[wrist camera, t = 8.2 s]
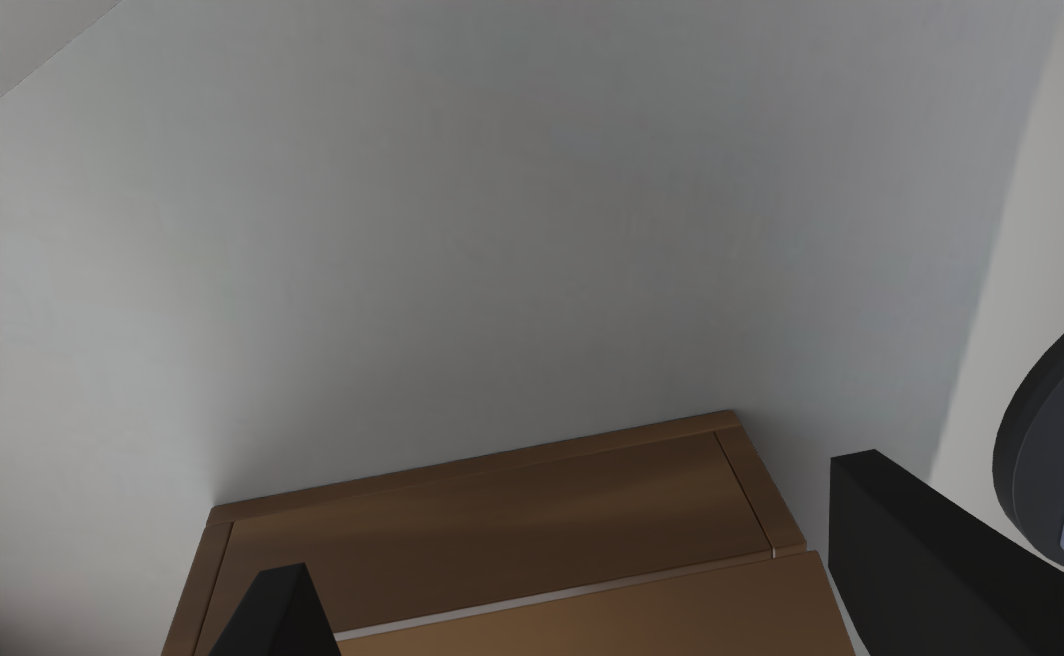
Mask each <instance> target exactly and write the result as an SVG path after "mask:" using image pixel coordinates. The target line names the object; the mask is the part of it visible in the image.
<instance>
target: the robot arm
mask: <svg viewBox="0 0 1064 656" xmlns="http://www.w3.org/2000/svg"><path fill="white" fill-rule="evenodd" d="M1060 546H1061V547H1062V548H1063V549H1064V526H1063V531H1062V536H1061V541H1060ZM828 568H829V570H830V573H831V575H832V577H833V580H834V582H835V584H836V586H837V589H838V591H839V593H840V596H841V598H842V600H843V602H844V605H845V607H846V609H847V611H848V613H849V615H850V618H851V620H852V622H853V624H854V626H855V628H856V631H857V633H858V635H859V637H860V638H861V640H862V642H863V644H864V645H865V647H866V649H867V650H868V652H869V654H870V656H1064V572H1062V571H1060V570H1059V569H1057V568H1055V567H1054V566H1052V565H1050V564H1049V563H1047V562H1045V561H1044V560H1042V559H1040V558H1039V557H1037V556H1036V555H1034V554H1032V553H1030V552H1029V551H1027V550H1026V549H1024V548H1022V547H1021V546H1019V545H1018V544H1016V543H1014V542H1013V541H1011V540H1010V539H1008V538H1007V537H1005V536H1003V535H1002V534H1000V533H999V532H997V531H996V530H994V529H992V528H991V527H989V526H988V525H986V524H985V523H983V522H982V521H980V520H979V519H977V518H976V517H974V516H973V515H971V514H970V513H968V512H967V511H965V510H964V509H962V508H961V507H959V506H958V505H956V504H955V503H953V502H952V501H950V500H949V499H947V498H946V497H944V496H943V495H942V494H940V493H939V492H937V491H936V490H934V489H933V488H931V487H930V486H928V485H927V484H925V483H924V482H922V481H921V480H920V479H918V478H917V477H915V476H914V475H912V474H911V473H909V472H908V471H907V470H905V469H904V468H902V467H901V466H899V465H898V464H896V463H895V462H893V461H892V460H890V459H889V458H887V457H886V456H884V455H883V454H881V453H880V452H878V451H877V450H875V449H872V450H867V451H862V452H857V453H852V454H847V455H842V456H837V457H832V458H831V467H830V509H829V551H828ZM207 656H342V655H341V652H340V650H339V647H338V645H337V642H336V640H335V637H334V635H333V632H332V630H331V627H330V625H329V622H328V619H327V617H326V614H325V612H324V609H323V607H322V604H321V602H320V599H319V597H318V594H317V592H316V589H315V587H314V584H313V582H312V579H311V577H310V574H309V572H308V569H307V566H306V564H305V562H302V563H297V564H292V565H287V566H282V567H277V568H272V569H267V570H262V571H259V573H258V574H257V575H256V577H255V578H254V580H253V581H252V583H251V585H250V586H249V588H248V589H247V591H246V593H245V594H244V596H243V598H242V599H241V601H240V603H239V604H238V606H237V608H236V609H235V611H234V613H233V614H232V616H231V618H230V619H229V621H228V623H227V624H226V626H225V627H224V629H223V631H222V632H221V634H220V636H219V637H218V639H217V641H216V642H215V644H214V645H213V647H212V649H211V650H210V652H209V654H208V655H207Z"/></svg>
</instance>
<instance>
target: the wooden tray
mask: <svg viewBox="0 0 1064 656" xmlns="http://www.w3.org/2000/svg"><path fill="white" fill-rule="evenodd" d="M806 547H807V541H806V539H805V538H804V536H803V534H802V532H801V530H800V529H799V527H798V525H797V523H796V521H795V520H794V518H793V516H792V514H791V512H790V511H789V509H788V507H787V505H786V503H785V502H784V500H783V498H782V496H781V494H780V493H779V491H778V489H777V487H776V486H775V484H774V482H773V480H772V478H771V477H770V475H769V473H768V471H767V469H766V468H765V466H764V464H763V462H762V460H761V459H760V457H759V455H758V453H757V451H756V450H755V448H754V446H753V444H752V442H751V441H750V439H749V437H748V435H747V433H746V432H745V430H744V428H743V427H742V425H741V423H740V421H739V420H738V418H737V416H736V414H735V412H734V411H733V410H727V411H722V412H716V413H711V414H706V415H700V416H695V417H690V418H684V419H679V420H674V421H668V422H663V423H658V424H652V425H647V426H642V427H636V428H631V429H626V430H620V431H615V432H610V433H604V434H599V435H594V436H588V437H583V438H578V439H572V440H567V441H562V442H556V443H551V444H546V445H540V446H535V447H530V448H524V449H519V450H514V451H508V452H503V453H497V454H492V455H487V456H481V457H476V458H471V459H465V460H460V461H455V462H449V463H444V464H439V465H433V466H428V467H423V468H417V469H412V470H407V471H401V472H396V473H391V474H385V475H380V476H375V477H369V478H364V479H359V480H353V481H348V482H343V483H337V484H332V485H327V486H321V487H316V488H311V489H305V490H300V491H295V492H289V493H284V494H279V495H273V496H268V497H263V498H257V499H252V500H247V501H241V502H236V503H231V504H225V505H220V506H215V507H212V508H211V511H210V514H209V517H208V520H207V523H206V528H205V529H204V531H203V534H202V537H201V540H200V543H199V546H198V549H197V552H196V555H195V557H194V560H193V563H192V566H191V569H190V572H189V575H188V578H187V581H186V583H185V586H184V589H183V592H182V595H181V598H180V601H179V604H178V607H177V610H176V612H175V615H174V618H173V621H172V624H171V627H170V630H169V633H168V636H167V639H166V641H165V644H164V647H163V650H162V653H161V656H207V655H208V654H209V652H210V650H211V649H212V647H213V645H214V644H215V642H216V641H217V639H218V637H219V636H220V634H221V632H222V631H223V629H224V627H225V626H226V624H227V623H228V621H229V619H230V618H231V616H232V614H233V613H234V611H235V609H236V608H237V606H238V604H239V603H240V601H241V599H242V598H243V596H244V594H245V593H246V591H247V589H248V588H249V586H250V585H251V583H252V581H253V580H254V578H255V577H256V575H257V574H258V573H259V571H262V570H267V569H272V568H277V567H282V566H287V565H292V564H297V563H302V562H305V564H306V566H307V569H308V572H309V574H310V577H311V579H312V582H313V584H314V587H315V589H316V592H317V594H318V597H319V599H320V602H321V604H322V607H323V609H324V612H325V614H326V617H327V619H328V622H329V625H330V627H331V630H332V632H333V635H334V637H335V640H336V641H341V640H346V639H351V638H357V637H362V636H367V635H372V634H378V633H383V632H388V631H393V630H399V629H404V628H409V627H414V626H420V625H425V624H430V623H435V622H441V621H446V620H451V619H456V618H462V617H467V616H472V615H477V614H483V613H488V612H493V611H498V610H504V609H509V608H514V607H519V606H524V605H530V604H535V603H540V602H545V601H551V600H556V599H561V598H566V597H572V596H577V595H582V594H587V593H593V592H598V591H603V590H608V589H614V588H619V587H624V586H629V585H635V584H640V583H645V582H650V581H656V580H661V579H666V578H671V577H677V576H682V575H687V574H692V573H698V572H703V571H708V570H713V569H719V568H724V567H729V566H734V565H739V564H745V563H750V562H755V561H760V560H766V559H771V558H776V557H781V556H787V555H792V554H797V553H802V552H806Z"/></svg>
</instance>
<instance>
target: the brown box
mask: <svg viewBox="0 0 1064 656" xmlns="http://www.w3.org/2000/svg"><path fill="white" fill-rule="evenodd" d="M336 642H337V645H338V647H339V650H340V652H341V655H342V656H856V654H855V652H854V649H853V646H852V643H851V641H850V638H849V635H848V632H847V630H846V627H845V624H844V621H843V619H842V616H841V613H840V610H839V608H838V605H837V602H836V599H835V597H834V594H833V591H832V588H831V586H830V583H829V580H828V577H827V575H826V572H825V569H824V566H823V564H822V561H821V558H820V555H819V553H818V552H817V551H816V550H813V551H808V552H802V553H797V554H792V555H787V556H781V557H776V558H771V559H766V560H760V561H755V562H750V563H745V564H739V565H734V566H729V567H724V568H719V569H713V570H708V571H703V572H698V573H692V574H687V575H682V576H677V577H671V578H666V579H661V580H656V581H650V582H645V583H640V584H635V585H629V586H624V587H619V588H614V589H608V590H603V591H598V592H593V593H587V594H582V595H577V596H572V597H566V598H561V599H556V600H551V601H545V602H540V603H535V604H530V605H524V606H519V607H514V608H509V609H504V610H498V611H493V612H488V613H483V614H477V615H472V616H467V617H462V618H456V619H451V620H446V621H441V622H435V623H430V624H425V625H420V626H414V627H409V628H404V629H399V630H393V631H388V632H383V633H378V634H372V635H367V636H362V637H357V638H351V639H346V640H341V641H336Z"/></svg>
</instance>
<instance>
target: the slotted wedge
mask: <svg viewBox="0 0 1064 656" xmlns="http://www.w3.org/2000/svg"><path fill="white" fill-rule="evenodd" d="M120 1H121V0H0V98H1V97H2V96H3V95H5V94H6V93H7V92H8V91H10V90H11V89H12V88H13V87H15V86H16V85H17V84H18V83H20V82H21V81H22V80H23V79H25V78H26V77H27V76H28V75H30V74H31V73H32V72H33V71H34V70H36V69H37V68H38V67H39V66H41V65H42V64H43V63H44V62H46V61H47V60H48V59H49V58H51V57H52V56H53V55H54V54H56V53H57V52H58V51H59V50H61V49H62V48H63V47H64V46H66V45H67V44H68V43H69V42H71V41H72V40H73V39H74V38H75V37H77V36H78V35H79V34H80V33H82V32H83V31H84V30H85V29H87V28H88V27H89V26H90V25H92V24H93V23H94V22H95V21H97V20H98V19H99V18H100V17H102V16H103V15H104V14H105V13H107V12H108V11H109V10H110V9H112V8H113V7H114V6H115V5H116V4H118V3H119V2H120Z"/></svg>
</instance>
